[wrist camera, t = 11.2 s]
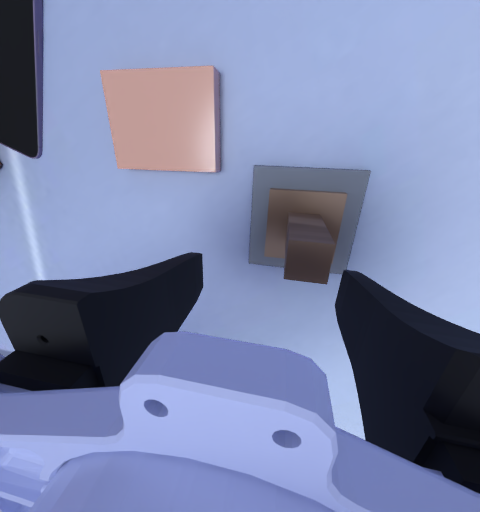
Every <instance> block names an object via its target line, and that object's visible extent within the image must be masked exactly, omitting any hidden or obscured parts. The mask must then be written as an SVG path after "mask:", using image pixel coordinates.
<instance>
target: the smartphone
mask: <svg viewBox="0 0 480 512" xmlns="http://www.w3.org/2000/svg"><path fill="white" fill-rule="evenodd" d="M42 121H43V0H0V144H3V145H5V146H7V147H9V148H11V149H13V150H15V151H17V152H19V153H21V154H23V155H25V156H28V157H30V158H39V157H40V156H41V155H42Z"/></svg>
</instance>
